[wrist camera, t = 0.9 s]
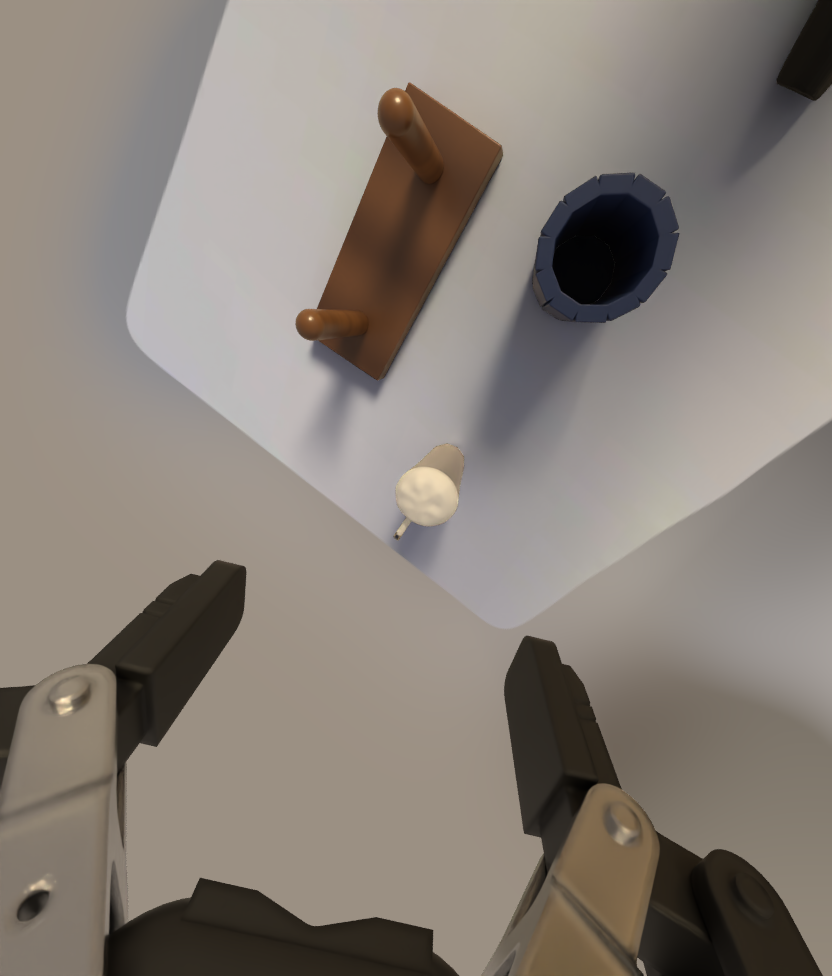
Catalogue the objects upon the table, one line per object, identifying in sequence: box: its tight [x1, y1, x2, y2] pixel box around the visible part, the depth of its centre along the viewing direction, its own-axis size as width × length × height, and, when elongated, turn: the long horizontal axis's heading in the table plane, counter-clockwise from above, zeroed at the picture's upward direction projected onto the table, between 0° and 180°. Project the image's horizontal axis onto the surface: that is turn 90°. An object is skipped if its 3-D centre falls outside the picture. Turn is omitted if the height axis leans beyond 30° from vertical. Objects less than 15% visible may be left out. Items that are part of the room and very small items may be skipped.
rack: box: [296, 83, 503, 380], centre depth 25 cm, size 17×7×10 cm, turn 149°
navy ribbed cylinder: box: [532, 173, 679, 323], centre depth 23 cm, size 6×6×10 cm
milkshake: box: [393, 443, 464, 540], centre depth 31 cm, size 4×5×10 cm
